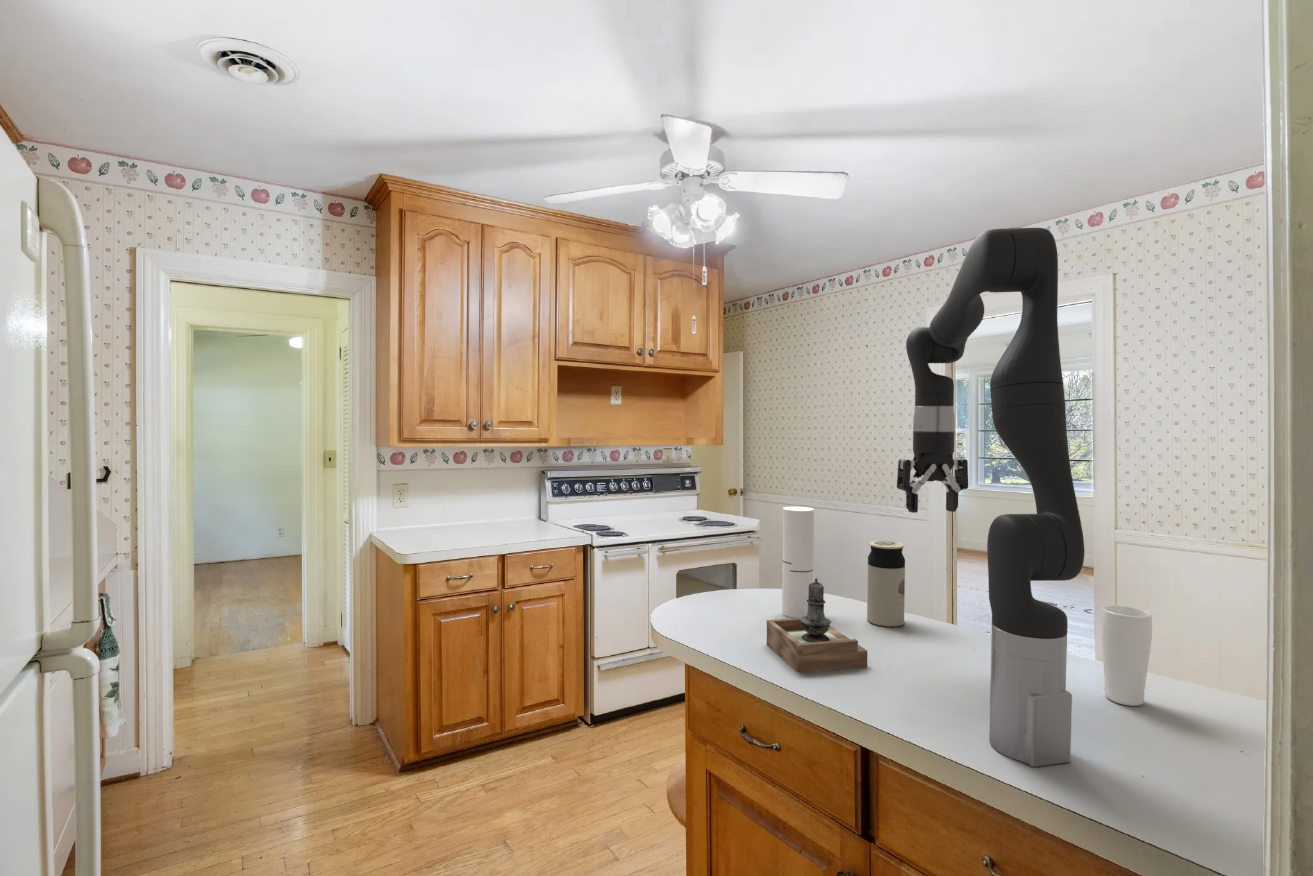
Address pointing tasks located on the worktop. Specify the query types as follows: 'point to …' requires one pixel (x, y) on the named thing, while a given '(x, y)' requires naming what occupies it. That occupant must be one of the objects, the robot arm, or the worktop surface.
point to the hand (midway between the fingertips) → (932, 511)
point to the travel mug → (886, 584)
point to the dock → (813, 647)
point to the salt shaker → (815, 615)
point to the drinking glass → (1125, 652)
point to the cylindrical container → (797, 560)
